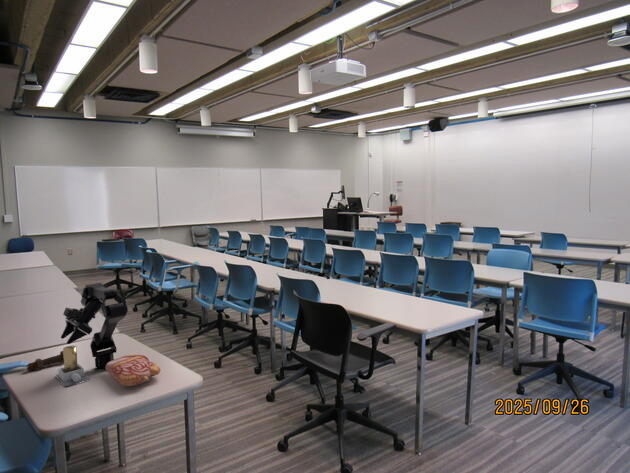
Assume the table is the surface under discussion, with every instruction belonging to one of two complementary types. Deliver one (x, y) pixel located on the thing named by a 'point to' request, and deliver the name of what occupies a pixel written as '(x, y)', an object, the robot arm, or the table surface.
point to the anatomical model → (132, 369)
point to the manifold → (72, 376)
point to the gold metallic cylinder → (70, 358)
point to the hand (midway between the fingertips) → (64, 340)
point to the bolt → (45, 362)
